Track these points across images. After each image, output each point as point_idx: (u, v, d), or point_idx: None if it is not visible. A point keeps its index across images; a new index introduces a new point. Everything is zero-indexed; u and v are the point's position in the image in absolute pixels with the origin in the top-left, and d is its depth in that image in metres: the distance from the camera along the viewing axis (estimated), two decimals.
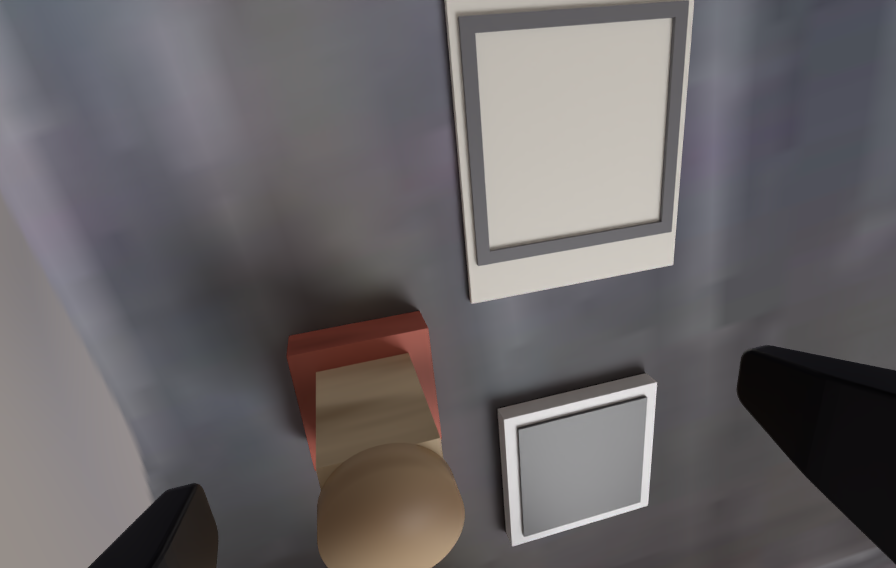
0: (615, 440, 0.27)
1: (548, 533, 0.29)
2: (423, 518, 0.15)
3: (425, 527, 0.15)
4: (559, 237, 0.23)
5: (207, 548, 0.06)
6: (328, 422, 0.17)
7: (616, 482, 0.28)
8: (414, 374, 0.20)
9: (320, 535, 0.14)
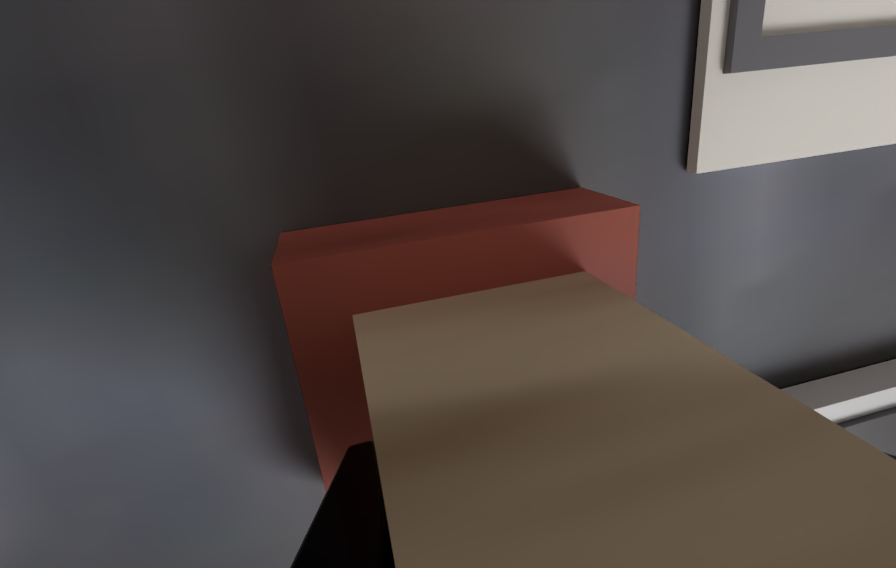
0: None
1: None
2: None
3: None
4: None
5: None
6: (432, 476, 0.04)
7: None
8: (648, 313, 0.07)
9: None
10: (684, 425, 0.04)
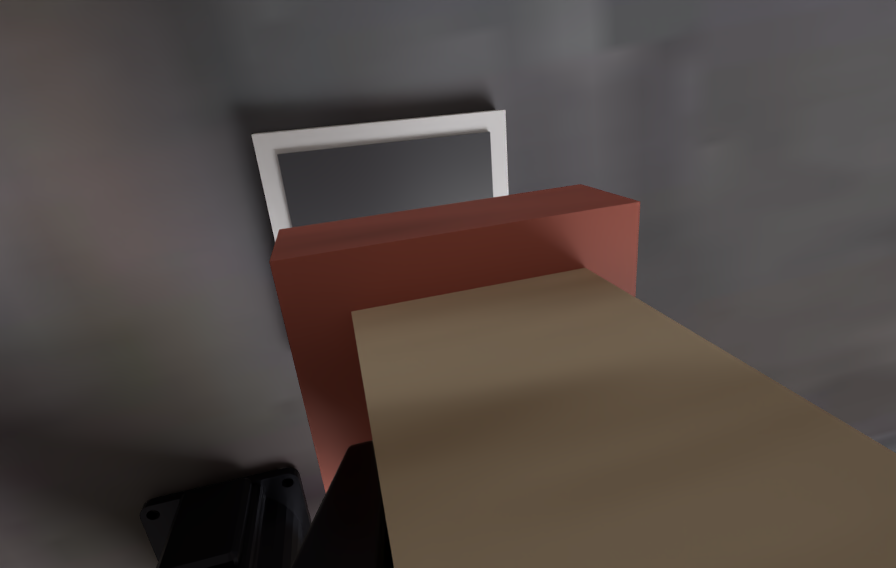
0: (446, 202, 0.18)
1: None
2: None
3: None
4: None
5: None
6: (432, 471, 0.04)
7: None
8: (649, 309, 0.07)
9: None
10: (684, 420, 0.04)
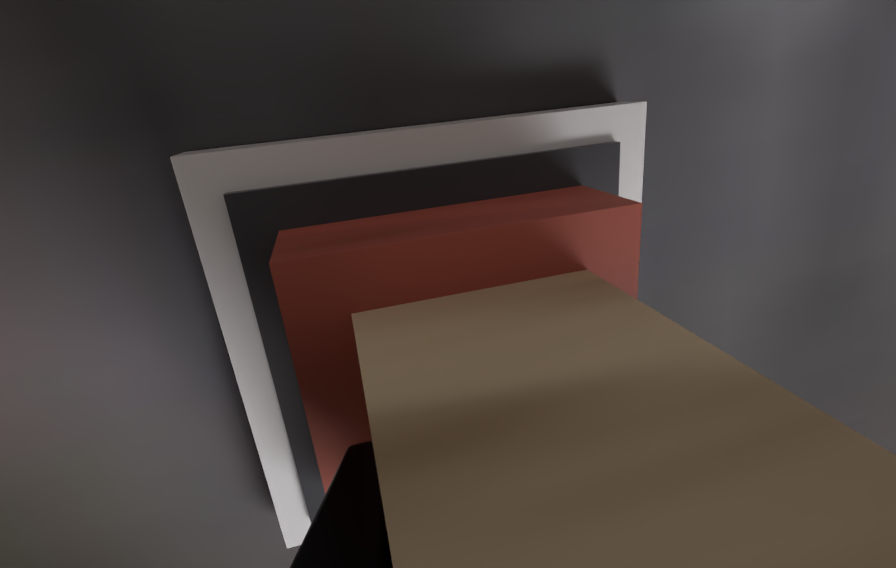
0: None
1: None
2: None
3: None
4: None
5: None
6: (433, 477, 0.04)
7: None
8: (651, 312, 0.07)
9: None
10: (688, 426, 0.04)
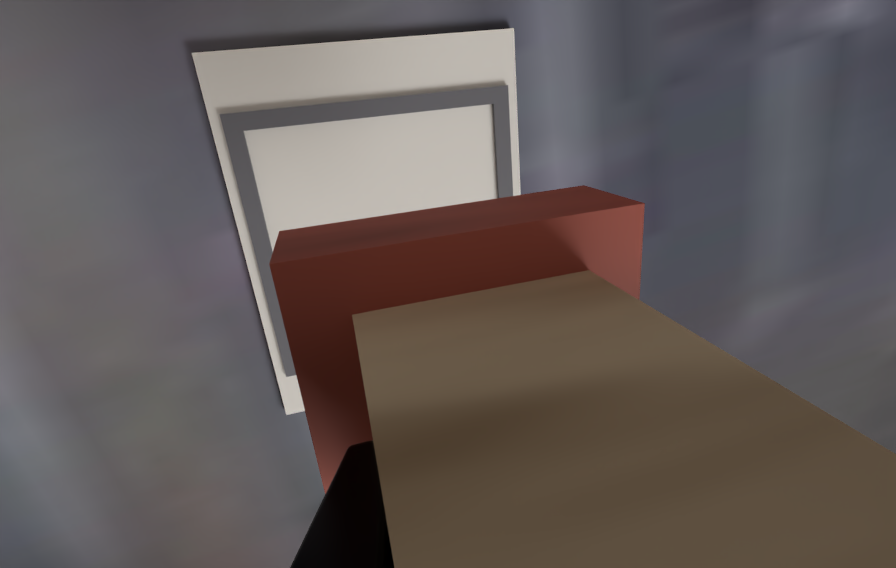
0: None
1: None
2: None
3: None
4: None
5: None
6: (436, 479, 0.04)
7: None
8: (654, 313, 0.06)
9: None
10: (693, 428, 0.04)
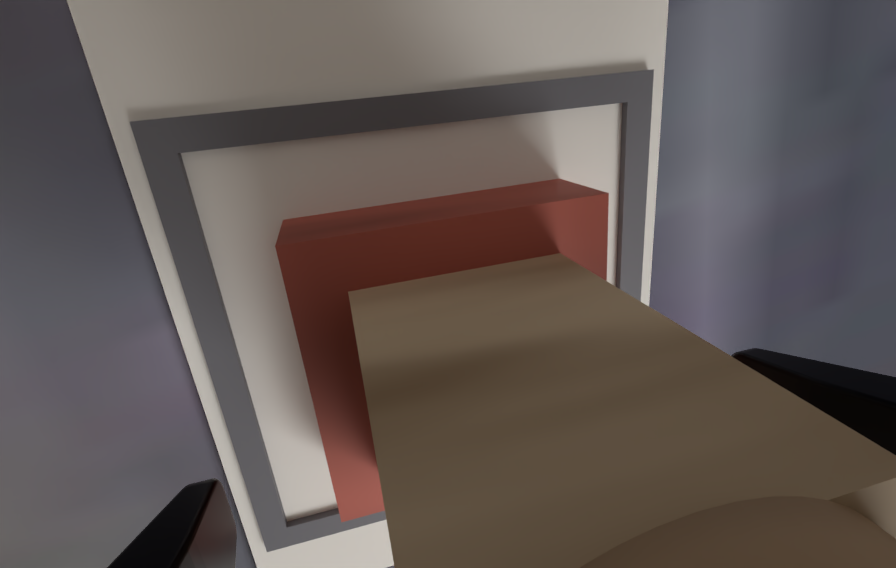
0: None
1: None
2: None
3: None
4: None
5: (227, 543, 0.06)
6: (413, 410, 0.05)
7: None
8: (610, 287, 0.07)
9: None
10: (624, 371, 0.05)
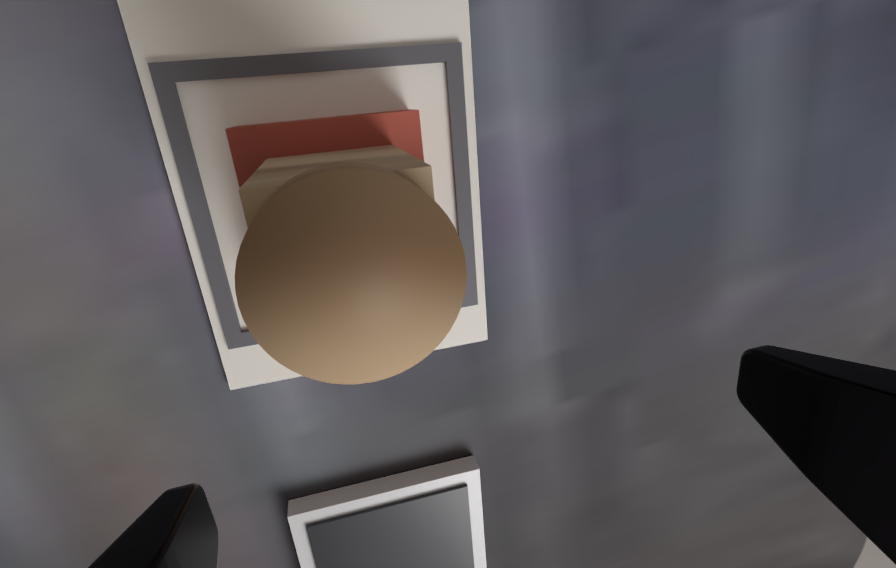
0: (434, 533, 0.24)
1: None
2: (403, 272, 0.10)
3: (406, 289, 0.10)
4: None
5: (207, 548, 0.06)
6: (271, 172, 0.12)
7: None
8: (398, 149, 0.14)
9: (239, 276, 0.09)
10: (367, 162, 0.12)
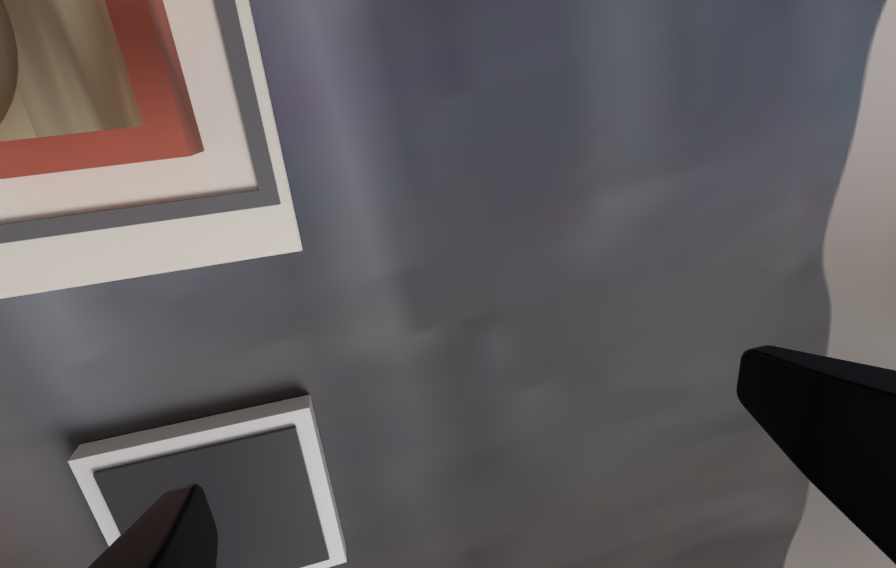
0: (261, 484, 0.21)
1: None
2: None
3: None
4: (91, 210, 0.16)
5: (207, 548, 0.06)
6: None
7: (282, 536, 0.22)
8: None
9: None
10: None
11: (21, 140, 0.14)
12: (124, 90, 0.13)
